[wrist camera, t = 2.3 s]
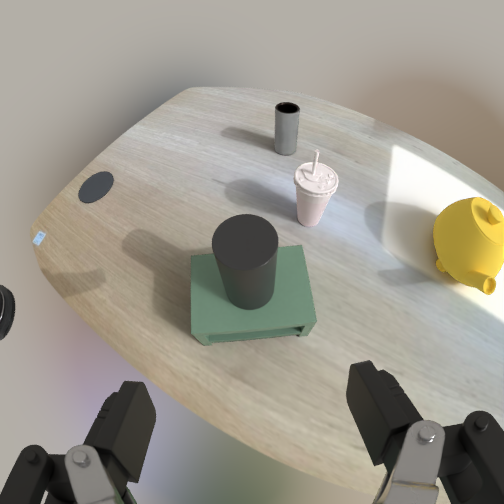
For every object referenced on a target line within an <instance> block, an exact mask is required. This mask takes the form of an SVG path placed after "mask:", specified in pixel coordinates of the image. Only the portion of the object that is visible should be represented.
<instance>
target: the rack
mask: <svg viewBox="0 0 504 504" xmlns="http://www.w3.org/2000/svg"><path fill="white" fill-rule="evenodd" d="M316 322H317V319H316V314H315V308H314V303H313V297H312V292H311V287H310V281H309V276H308V271H307V266H306V261H305V257H304V252H303V247H302V245H297V246H287V247H278V252H277V264H276V275H275V286H274V293H273V296H272V298H271V299H270V301H269V302H268V303H267V304H266V305H265V306H263V307H261V308H259V309H255V310H244V309H241V308H238V307H236V306H235V305H234V304H233V303H232V302H231V301H230V300H229V298H228V296H227V294H226V291H225V287H224V284H223V281H222V278H221V275H220V272H219V269H218V265H217V262H216V259H215V256H214V254H204V255H194V256H191V334H192V335H193V336H194V337H195V338H196V339H197V340H198V341H199V342H201V343H202V344H203V345H204V346H207V345H212V343H217V342H231V341H244V340H255V339H264V338H274V337H282V336H290V335H298V334H299V337H301V336H308V334H309V333H310V331H311V330H312V328H313V326H314V325H315V323H316Z"/></svg>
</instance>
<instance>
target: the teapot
mask: <svg viewBox="0 0 504 504" xmlns="http://www.w3.org/2000/svg"><path fill="white" fill-rule="evenodd" d="M433 239H434V245H435V249H436V253H437V256H438V258H439V259H437V261H436V266H437V268H438V270H439V271H441V272H446V271H447V272H448V273H449V274H450V275H451V276H452V277H453V278H454V279H456V280H457V281H459V282H460V283H462V284H464V285H467V286H470V287H475V288H477V289H479V290H480V291H482V292H483V293H485V294H487V295H490V294H492V293H493V292H494V290H495V287H496V281H495V279H494V278H495V277H496V275H497V274H498V272H499V271H500V269H501V267H502V265H503V263H504V217H503V215H502V213H501V211H500V210H499V209H498V208H497V207H496V206H494V205H493V204H492V203H491V202H489V201H488V200H486V199H483V198H480V197H473V198H468V199H463V200H460V201H457V202H455V203H453V204H451V205H449V206H448V207H447V208H445V209H444V210H443V211H442V212H441V213H440V214H439V216H438V217H437V218H436V220H435V223H434V228H433Z"/></svg>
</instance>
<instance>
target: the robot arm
mask: <svg viewBox="0 0 504 504" xmlns="http://www.w3.org/2000/svg"><path fill="white" fill-rule="evenodd" d="M4 312H5V296H4V294H3V292H2V291H0V323H1V321H2V319H3V316H4ZM346 398H347V403H348V406H349V409H350V411H351V413H352V415H353V418H354V420H355V422H356V425H357V427H358V429H359V432H360V434H361V436H362V439H363V441H364V443H365V446H366V448H367V450H368V453H369V455H370V457H371V460H372V462H373V465H374V466H376V465H379V464H382V463H384V465H385V467H386V469H387V472H386V474H385V476H384V479H383V481H382V484H381V486H380V488H379V490H378V493H377V495H376V497H375V499H374V501H373V504H436V500H437V497H438V492H439V488H438V486H435V483H436V479H437V477H439V478H440V480H441V482H442V484H443V486H444V489H445V491H446V493H447V495H448V498H449V500H450V502H451V504H504V431H503V430H502V428H501V427H500V425H499V424H498V423H497V421H496V420H495V419H494V417H493V416H492V415H491V414H489V413H488V412H485V411H475V412H472V413H470V414H469V415H468V416H467V417H466V419H465V421H464V422H463V423H462V424H457V425H451V426H445V427H442V426H441V425H440V424H438V423H436V422H434V421H430V420H423V418H422V417H421V415H420V414H419V412H418V411H417V409H416V408H415V407H414V405H413V404H412V402H411V401H410V399H409V398H408V396H407V395H406V393H404V390H403V389H402V388H401V386H399V383H398V382H397V380H396V379H395V378H394V376H393V375H391V374H390V373H388V372H386V371H385V370H380V371H377V369H376V368H375V366H374V365H373V363H372V362H371V361H370V360H368V361H364V362H360V363H355V364H351V366H350V371H349V378H348V385H347V391H346ZM155 422H156V411H155V407H154V405H153V403H152V400H151V398H150V396H149V393H148V391H147V388H146V386H145V384H144V383H143V382H135V381H134V382H133V381H124V382H123V384H122V386H121V388H120V390H119V392H114V393H112V394H111V395H110V397H108V398H107V399H106V400H105V402H104V404H103V406H102V408H101V411H99V413H98V415H97V418H96V419H95V421H94V423H93V425H92V427H91V429H90V431H89V433H88V435H87V437H86V439H85V441H84V443H83V445H78V446H75V447H73V448H71V449H70V450H69V451H68V452H67V454H66V455H58V454H56V455H55V454H48V453H47V452H46V451H45V450H44V449H43V448H42V447H41V446H39V445H30V446H27V447H26V448H24V449H23V450H22V451H21V453H20V455H19V457H18V459H17V461H16V463H15V465H14V467H13V469H12V471H11V473H10V475H9V477H8V479H7V481H6V483H5V486H4V488H3V490H2V492H1V494H0V504H40V503H41V501H42V498H43V495H44V492H45V490H46V491H47V492H48V495H47V498H46V501H45V503H44V504H137V503H136V501H135V499H134V497H133V496H132V494H131V492H130V490H129V489H128V487H127V486H126V485H127V482H128V481H129V482H134V483H138V481H139V477H140V474H141V470H142V467H143V463H144V460H145V456H146V452H147V449H148V445H149V442H150V438H151V435H152V432H153V428H154V425H155Z"/></svg>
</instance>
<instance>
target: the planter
mask: <svg viewBox="0 0 504 504" xmlns="http://www.w3.org/2000/svg"><path fill="white" fill-rule="evenodd" d="M299 112H300V108H299V107H298V106H297V105H296V104H293V103H289V102H283V103H279V104H277V105H276V107H275V145H274V147H275V151H276V152H277V153H279V154H281V155H291V154H293V153H295V151H296V146H297V135H298V124H299Z"/></svg>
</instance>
